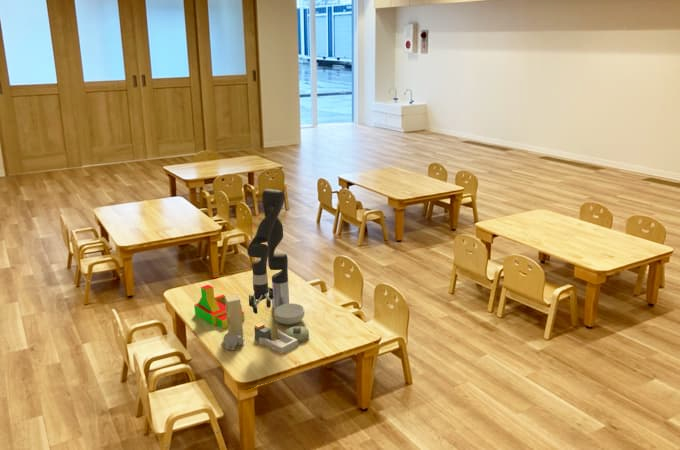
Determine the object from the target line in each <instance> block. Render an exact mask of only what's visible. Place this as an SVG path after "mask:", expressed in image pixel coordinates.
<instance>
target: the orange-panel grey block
mask: <svg viewBox="0 0 680 450" xmlns="http://www.w3.org/2000/svg"><path fill="white" fill-rule="evenodd" d="M253 331H254V338H255V339H256V340H259V338H260V337H261V338H267V339H269V340H271V341H273V340H272V329H271V328H269V327H267V326H265V324H264V323H263V322H259V323H257V324H255V325H254V330H253Z"/></svg>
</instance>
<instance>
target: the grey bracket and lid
mask: <svg viewBox="0 0 680 450" xmlns="http://www.w3.org/2000/svg"><path fill="white" fill-rule="evenodd" d="M276 334H277V336H278V338H279V339H277V340H274V341H273V340H269V339H267V338H261V337H260V338H259V339H258V344H260V345H265V346H267V347H268V348H269V349H273V350H274V351H277V352H278V353H280V354H282V353H283V354H284V353H285V352H288V351H289V350H291V349H294V348H295V347H297V346H298V345H299V343H302V342H305V341H307V340H308V339H309V337H310V335H309V329H308V328H307V327H305V326H297V325H296V326H292V327H289V328H287V329H286V330H285V333H284V332H283V331H281V329H279V328H277V329H276Z"/></svg>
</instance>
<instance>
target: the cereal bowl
mask: <svg viewBox="0 0 680 450" xmlns="http://www.w3.org/2000/svg"><path fill="white" fill-rule="evenodd" d="M273 315H274V319H275V320H276V321H277V323H280V324H282V325H287V326H289V325H290V326H291V325H294V324H297V323H300V322H301V321H302V320H303V319H304V318H305V308H304V306H303V305H301V304H298V303H291V302H289V304H283V305H280V306H278V307H276V308H275V310H274V309H273Z"/></svg>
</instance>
